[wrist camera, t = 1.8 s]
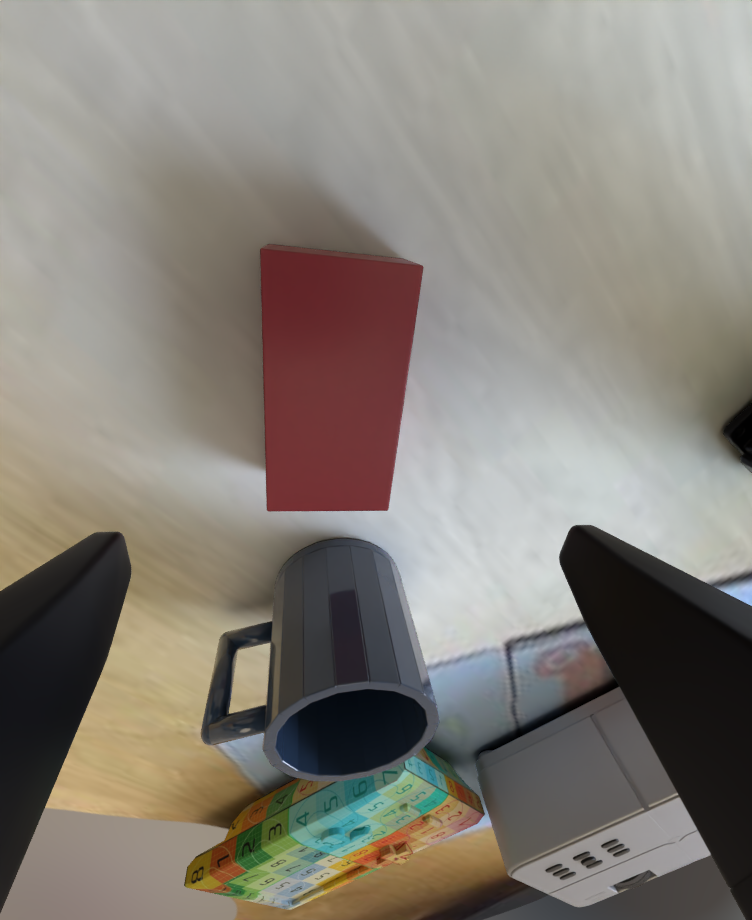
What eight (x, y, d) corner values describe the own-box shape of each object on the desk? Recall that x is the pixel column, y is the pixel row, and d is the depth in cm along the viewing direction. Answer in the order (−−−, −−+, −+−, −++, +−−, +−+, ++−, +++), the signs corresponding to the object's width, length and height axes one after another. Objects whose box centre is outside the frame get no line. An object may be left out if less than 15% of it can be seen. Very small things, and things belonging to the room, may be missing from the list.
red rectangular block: (267, 243, 15) (259, 248, 12) (404, 258, 16) (423, 265, 13) (271, 473, 19) (266, 512, 17) (377, 474, 20) (388, 510, 18)
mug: (390, 524, 22) (430, 662, 15) (406, 613, 25) (444, 757, 19) (202, 566, 21) (154, 730, 14) (245, 651, 25) (224, 814, 18)
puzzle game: (489, 829, 32) (289, 924, 36) (468, 761, 36) (291, 852, 40) (408, 785, 26) (181, 903, 30) (394, 711, 30) (195, 822, 34)
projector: (464, 754, 35) (502, 878, 29) (709, 628, 32) (819, 737, 25) (537, 807, 43) (580, 913, 37) (739, 711, 40) (828, 810, 33)
